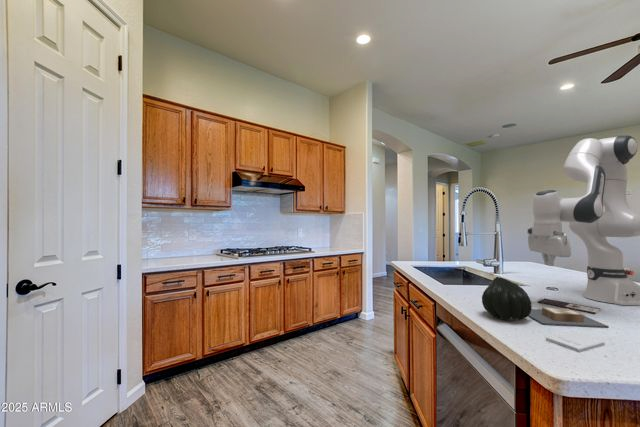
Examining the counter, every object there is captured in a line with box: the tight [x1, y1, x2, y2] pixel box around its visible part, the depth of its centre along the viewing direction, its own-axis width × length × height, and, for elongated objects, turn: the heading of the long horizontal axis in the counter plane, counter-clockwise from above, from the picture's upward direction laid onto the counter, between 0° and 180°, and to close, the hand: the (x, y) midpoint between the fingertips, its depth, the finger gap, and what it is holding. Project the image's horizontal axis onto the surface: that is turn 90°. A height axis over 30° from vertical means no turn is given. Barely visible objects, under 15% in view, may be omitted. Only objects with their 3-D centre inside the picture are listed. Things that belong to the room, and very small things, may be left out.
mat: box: [527, 308, 609, 329], centre depth 104 cm, size 20×16×1 cm
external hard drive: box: [545, 331, 606, 353], centre depth 83 cm, size 2×8×12 cm
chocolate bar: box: [537, 298, 601, 315], centre depth 118 cm, size 9×1×18 cm
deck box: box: [541, 307, 585, 322], centre depth 102 cm, size 9×3×7 cm
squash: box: [481, 276, 533, 321], centre depth 105 cm, size 14×15×15 cm
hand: (548, 265), depth 116 cm, fingers closed
